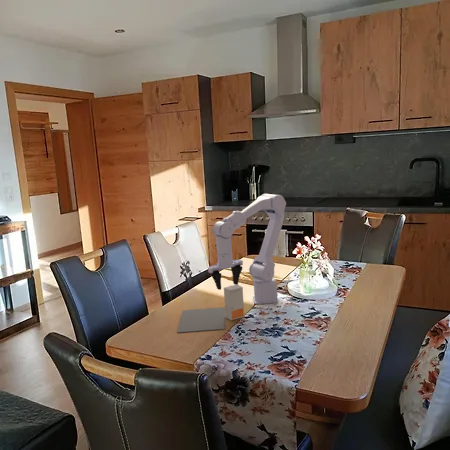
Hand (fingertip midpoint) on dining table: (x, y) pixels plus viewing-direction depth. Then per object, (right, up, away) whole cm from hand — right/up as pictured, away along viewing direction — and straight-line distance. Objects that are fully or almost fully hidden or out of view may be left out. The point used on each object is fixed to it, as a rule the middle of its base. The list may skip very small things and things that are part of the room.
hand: (227, 286), depth 162 cm
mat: (-10, -12, -4) cm, 16 cm away
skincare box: (+3, -11, -4) cm, 12 cm away
